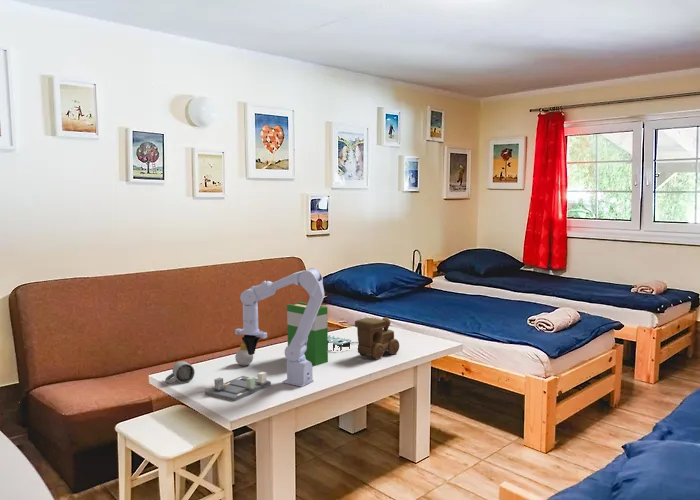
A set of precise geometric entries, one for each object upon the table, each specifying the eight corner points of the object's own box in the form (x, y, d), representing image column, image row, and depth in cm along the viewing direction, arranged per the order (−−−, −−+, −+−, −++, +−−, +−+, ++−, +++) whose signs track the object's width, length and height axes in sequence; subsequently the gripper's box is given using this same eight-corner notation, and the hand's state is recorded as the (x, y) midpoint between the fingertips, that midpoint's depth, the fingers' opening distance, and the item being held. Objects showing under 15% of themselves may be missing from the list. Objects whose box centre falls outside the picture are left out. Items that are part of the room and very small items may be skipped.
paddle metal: (225, 388, 201) (225, 378, 201) (219, 391, 199) (219, 380, 198) (218, 386, 203) (218, 376, 203) (212, 389, 200) (211, 379, 200)
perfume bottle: (231, 365, 235) (231, 337, 234) (250, 360, 242) (249, 333, 241) (242, 368, 230) (241, 340, 229) (261, 363, 237) (260, 335, 236)
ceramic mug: (189, 375, 221) (188, 357, 220) (195, 381, 214) (194, 362, 214) (163, 380, 216) (162, 362, 215) (168, 386, 209) (167, 367, 208)
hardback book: (287, 357, 245) (287, 304, 243) (300, 354, 251) (299, 301, 248) (315, 365, 233) (314, 309, 231) (327, 362, 238) (327, 307, 236)
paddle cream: (268, 382, 208) (268, 372, 207) (263, 384, 205) (263, 374, 205) (261, 380, 210) (261, 371, 209) (255, 383, 207) (255, 373, 207)
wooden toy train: (372, 362, 238) (371, 324, 236) (353, 357, 246) (352, 320, 244) (402, 352, 252) (402, 316, 250) (383, 348, 260) (383, 313, 258)
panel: (270, 384, 210) (270, 378, 210) (234, 401, 193) (234, 395, 193) (242, 378, 217) (242, 373, 217) (205, 394, 200) (204, 388, 200)
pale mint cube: (257, 387, 202) (257, 377, 202) (252, 390, 199) (251, 380, 199) (250, 385, 204) (250, 375, 204) (244, 388, 201) (244, 378, 201)
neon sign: (380, 333, 272) (338, 345, 251) (380, 342, 273) (338, 354, 252) (348, 326, 287) (306, 337, 266) (349, 334, 287) (306, 346, 266)
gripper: (271, 319, 214) (272, 354, 215) (243, 316, 221) (244, 349, 223) (260, 323, 208) (260, 358, 209) (231, 319, 215) (231, 353, 217)
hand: (251, 354), depth 216 cm, fingers closed
